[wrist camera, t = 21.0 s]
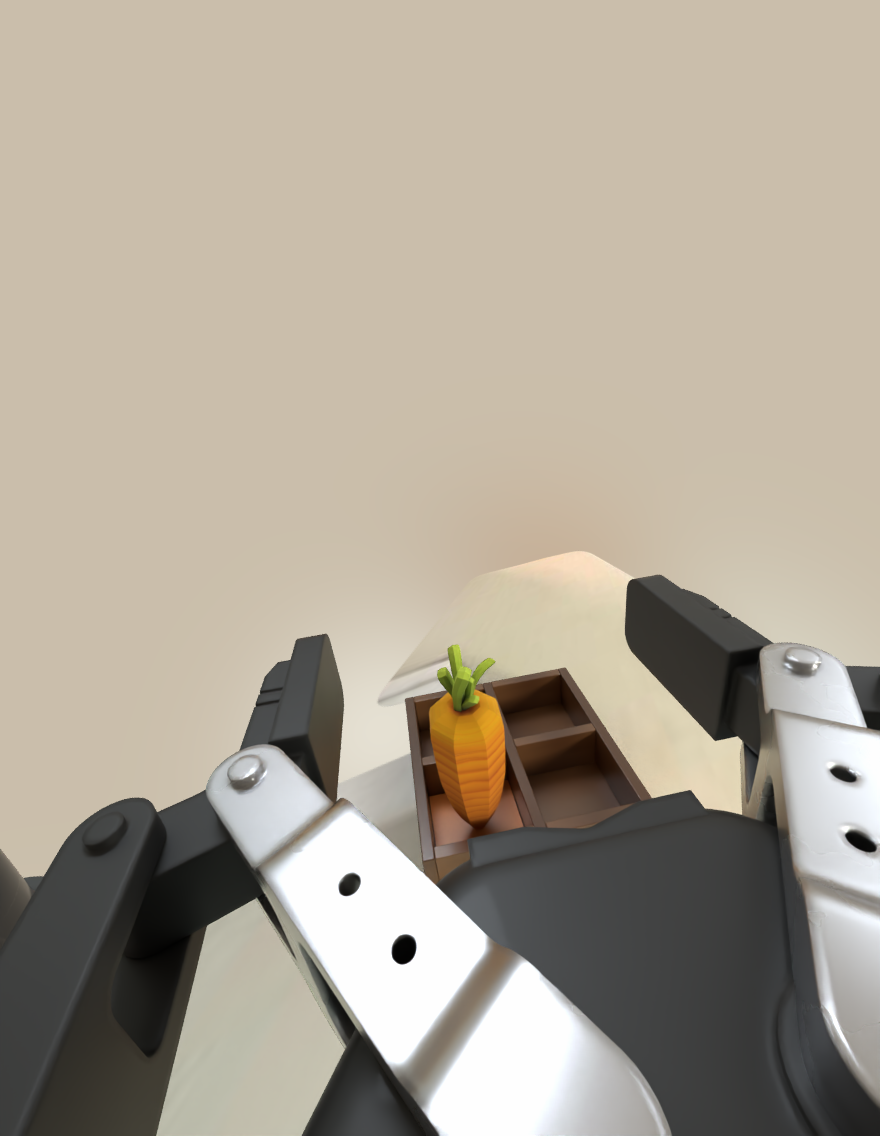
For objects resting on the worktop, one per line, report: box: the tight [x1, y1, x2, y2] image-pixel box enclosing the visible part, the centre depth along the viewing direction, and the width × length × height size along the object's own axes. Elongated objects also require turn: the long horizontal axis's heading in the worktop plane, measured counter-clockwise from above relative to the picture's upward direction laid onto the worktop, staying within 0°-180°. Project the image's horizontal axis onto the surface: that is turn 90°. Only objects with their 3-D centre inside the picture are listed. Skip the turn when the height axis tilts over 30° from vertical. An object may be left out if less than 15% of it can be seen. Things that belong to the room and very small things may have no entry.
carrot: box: [429, 645, 505, 830], centre depth 30 cm, size 5×5×15 cm
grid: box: [405, 668, 652, 885], centre depth 36 cm, size 15×15×4 cm
